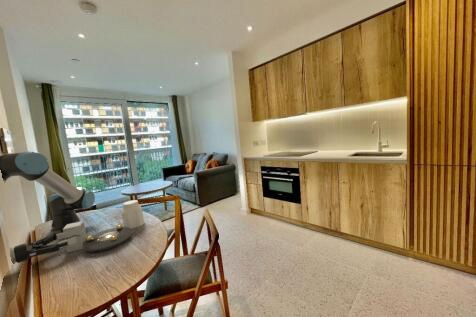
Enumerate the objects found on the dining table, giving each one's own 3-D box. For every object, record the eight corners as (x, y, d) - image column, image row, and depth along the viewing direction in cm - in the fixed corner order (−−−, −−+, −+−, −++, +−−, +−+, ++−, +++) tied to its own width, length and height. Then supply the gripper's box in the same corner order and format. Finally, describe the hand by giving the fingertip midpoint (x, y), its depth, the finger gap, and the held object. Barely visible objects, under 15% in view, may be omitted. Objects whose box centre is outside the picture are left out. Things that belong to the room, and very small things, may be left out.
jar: (124, 230, 125) (120, 206, 123) (123, 225, 133) (119, 202, 131) (145, 224, 131) (141, 201, 129) (143, 220, 139) (139, 198, 137)
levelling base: (91, 238, 118) (90, 229, 118) (134, 229, 125) (133, 220, 125) (76, 259, 98) (74, 248, 97) (128, 246, 105) (127, 236, 104)
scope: (76, 210, 128) (74, 214, 120) (81, 231, 130) (79, 237, 122) (59, 214, 124) (56, 219, 116) (64, 236, 126) (61, 242, 117)
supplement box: (66, 253, 105) (61, 229, 103) (71, 246, 112) (66, 223, 110) (84, 248, 108) (79, 225, 106) (88, 242, 114) (83, 220, 113)
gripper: (18, 253, 103) (72, 235, 118) (14, 274, 85) (79, 250, 100) (14, 239, 102) (69, 223, 117) (10, 257, 84) (76, 235, 99)
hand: (74, 235), depth 108 cm, fingers open, 13 cm apart
